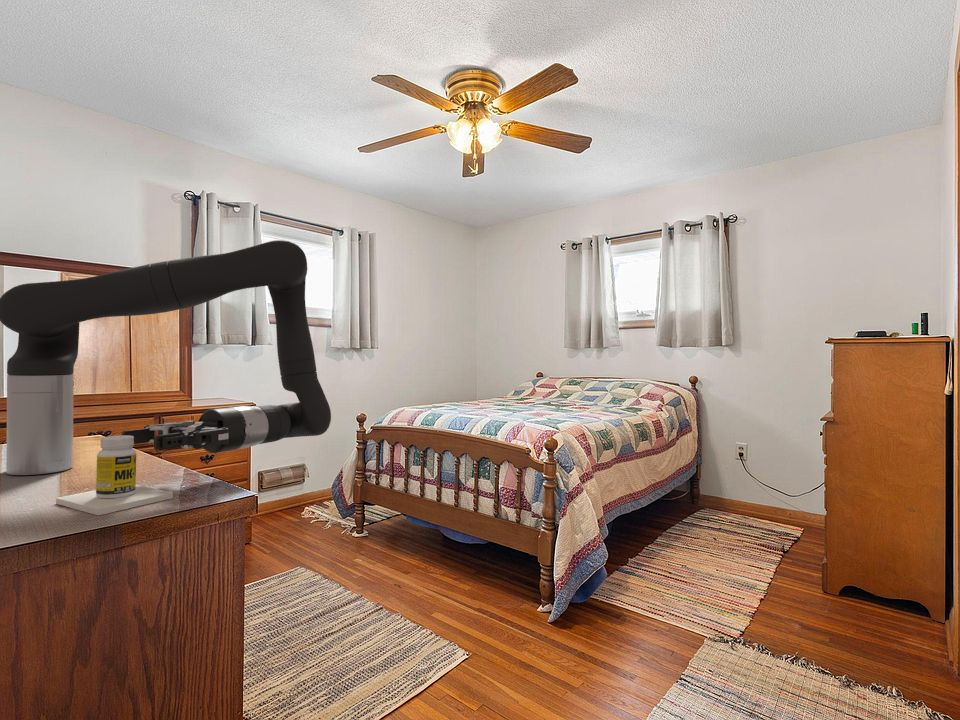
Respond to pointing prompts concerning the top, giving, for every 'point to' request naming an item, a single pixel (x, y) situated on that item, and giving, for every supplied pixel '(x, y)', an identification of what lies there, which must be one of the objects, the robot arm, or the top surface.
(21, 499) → the top surface
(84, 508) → the mat
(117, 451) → the supplement bottle
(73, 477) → the top surface
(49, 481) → the top surface
